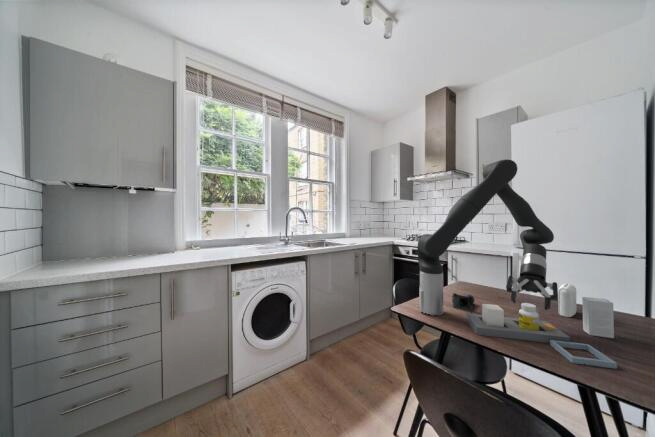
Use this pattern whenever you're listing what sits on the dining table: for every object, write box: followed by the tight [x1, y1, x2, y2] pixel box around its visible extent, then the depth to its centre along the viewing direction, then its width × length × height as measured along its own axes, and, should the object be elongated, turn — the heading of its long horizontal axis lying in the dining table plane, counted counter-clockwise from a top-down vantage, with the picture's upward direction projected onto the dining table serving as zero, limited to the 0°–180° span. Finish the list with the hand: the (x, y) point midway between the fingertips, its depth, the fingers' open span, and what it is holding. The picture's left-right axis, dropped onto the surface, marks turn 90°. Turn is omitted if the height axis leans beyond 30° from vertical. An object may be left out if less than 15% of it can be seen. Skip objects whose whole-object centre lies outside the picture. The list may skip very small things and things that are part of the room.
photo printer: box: [557, 283, 577, 318], centre depth 97 cm, size 10×4×12 cm, turn 123°
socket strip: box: [465, 303, 571, 344], centre depth 83 cm, size 26×12×8 cm, turn 74°
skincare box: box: [581, 296, 615, 339], centre depth 80 cm, size 6×4×12 cm
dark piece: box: [451, 292, 475, 313], centre depth 106 cm, size 9×8×12 cm
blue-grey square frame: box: [549, 340, 618, 370], centre depth 68 cm, size 10×10×2 cm
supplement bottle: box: [518, 302, 540, 331], centre depth 82 cm, size 5×5×10 cm
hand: (529, 305), depth 83 cm, fingers open, 8 cm apart
